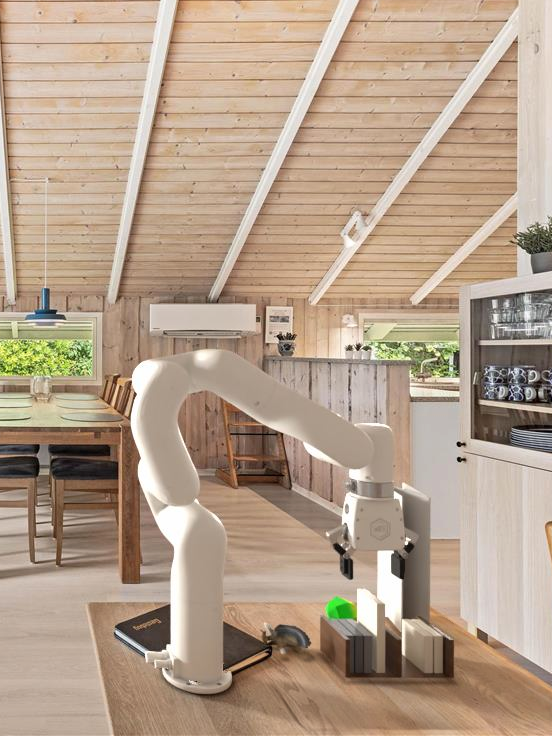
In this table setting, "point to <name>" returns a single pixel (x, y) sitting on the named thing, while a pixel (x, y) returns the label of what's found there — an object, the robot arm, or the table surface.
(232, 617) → the table surface
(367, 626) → the white book
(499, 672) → the table surface
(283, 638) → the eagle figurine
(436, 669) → the white books
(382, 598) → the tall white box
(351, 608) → the apple
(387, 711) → the table surface
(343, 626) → the grey books
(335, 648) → the book rack
